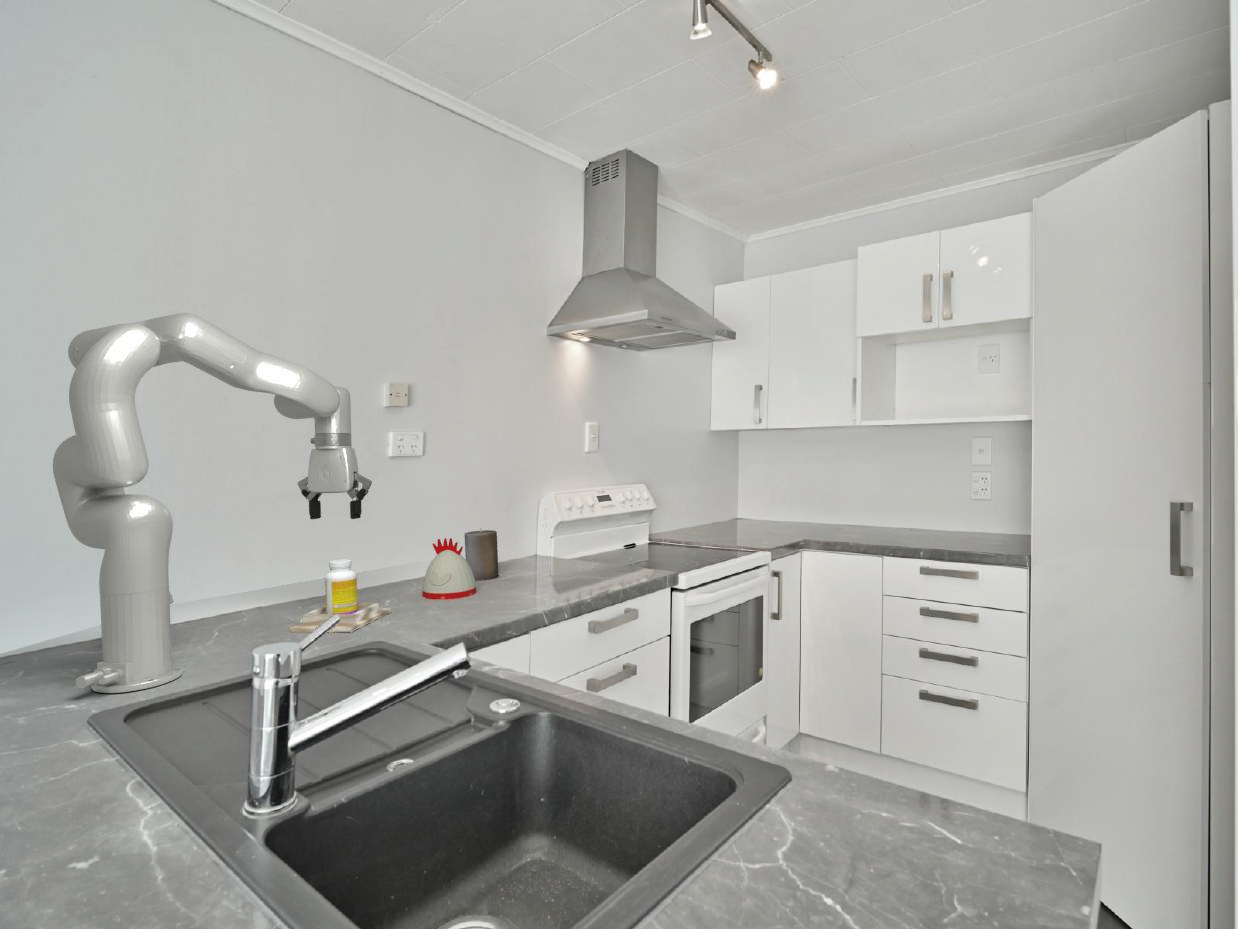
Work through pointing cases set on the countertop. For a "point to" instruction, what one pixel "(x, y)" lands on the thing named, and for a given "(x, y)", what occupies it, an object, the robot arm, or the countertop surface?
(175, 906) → the countertop surface
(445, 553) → the kitchen timer
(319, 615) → the beige flat rectangular tray
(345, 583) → the supplement bottle
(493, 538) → the pillar candle
